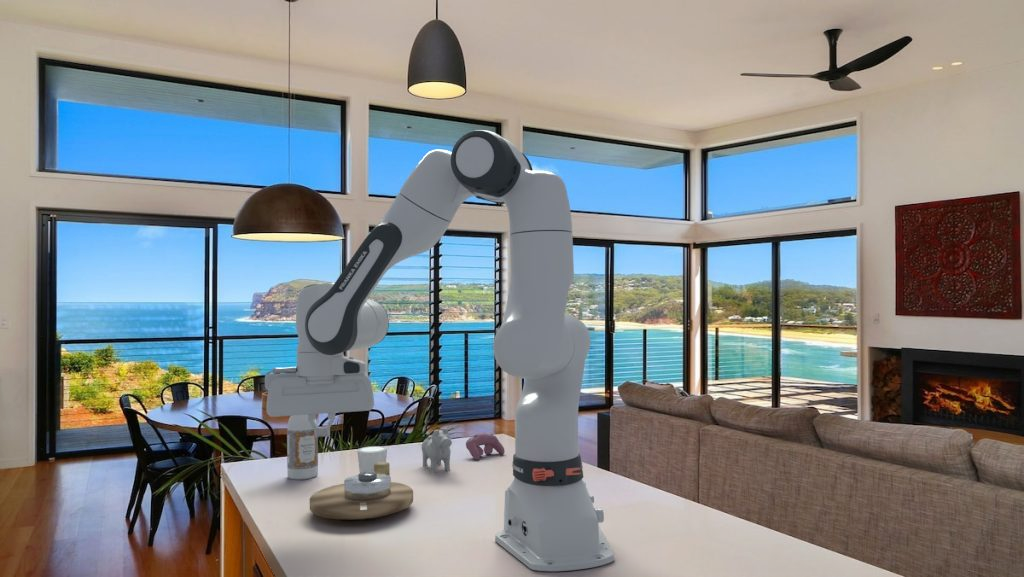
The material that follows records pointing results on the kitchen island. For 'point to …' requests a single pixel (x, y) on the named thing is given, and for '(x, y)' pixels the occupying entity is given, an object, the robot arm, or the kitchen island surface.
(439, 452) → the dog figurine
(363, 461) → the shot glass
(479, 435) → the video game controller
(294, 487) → the kitchen island surface
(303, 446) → the bath foam
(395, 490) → the turntable
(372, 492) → the cover
